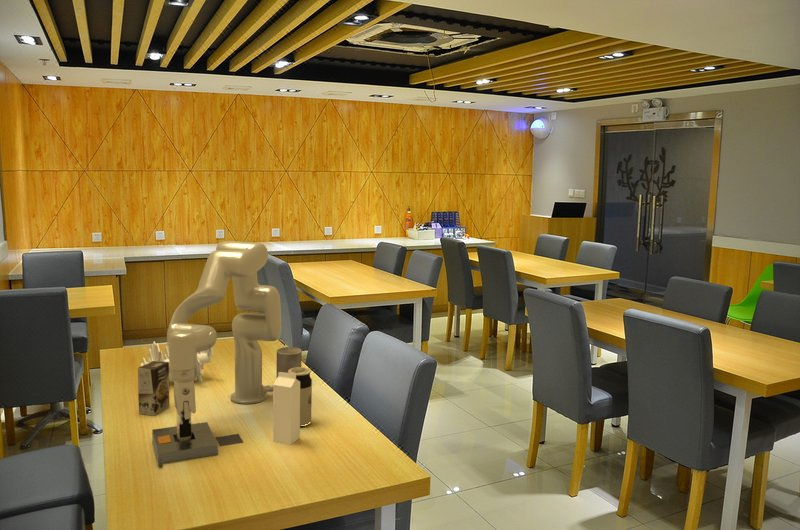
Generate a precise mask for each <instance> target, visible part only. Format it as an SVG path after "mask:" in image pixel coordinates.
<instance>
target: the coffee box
mask: <svg viewBox="0 0 800 530" xmlns="http://www.w3.org/2000/svg"><path fill="white" fill-rule="evenodd" d="M147 363H148V362H147ZM137 383H138V384H137V385H138V386H137V387H138V388H137V390H138V391H137V393H138V394H137V395H138V400H137V402H138V415H145V414H146V416H147V415H148V416H153V417H154V416H156V415H158V414H160V413H162V412H163V411H164V410H167V409H168V408H170V404H171V403H170V376H169V362H161V361H152V362H150V363H148V364H145V365H143V366H141V367H140V366H139V367H138V368H137Z"/></svg>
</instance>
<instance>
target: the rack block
mask: <svg viewBox="0 0 800 530" xmlns="http://www.w3.org/2000/svg"><path fill="white" fill-rule="evenodd" d="M151 433H152V434H151V436H152V437H151V439H152V446H153V451H154V455H155V459H156V463H158V464H157V467H160V468H163V467H164V465H163V464H169V463H176V462H181V461H188V460H194V459H200V458H206V457H211V456H212V457H213V456H218V455H219V444H218V442H217V440H216V438H215V436H214V433H213V432H212V430H211V427H210V425H209V423H208V421H204V422H198V423H191V437H192V438H191V440H187V441H180V442H179V441H177V425H176V426H169V427H163V428H154V429H152V430H151Z"/></svg>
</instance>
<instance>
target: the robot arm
mask: <svg viewBox="0 0 800 530" xmlns="http://www.w3.org/2000/svg"><path fill="white" fill-rule="evenodd" d="M268 257H269V251H268V248H267V247H266V245H265V244H263V243H261V242H256V241H255V242H252V241H239V240H238V241H237V240H224V241H221V242H219V243H218V244H217V245H216V249H215V250H214V251H212V252H210V254H209V255H208V257H207V260H206V263H205V264H204V267H203V271H202V274H201V276H200V280H199V282H198V286H197V288H196V290H195V292H193V293H192V294H190V295H189V296H188V297H187V298H185V299H184V300H183V301H182V302H181V303H180V304H178V306H177V307H176V309H175V310H174V312H173V314H172V317H171V318H170V322H169V325H168V327H167V331H166V341H167V343H169V381H171V382H173V398H174V406H175V409H176V413H177V412H178V414H179V415H180V424H179V435H180V438H183V437H189V436H191V424H192V416H191V417H190V410H191V414H196V412H197V407H196V388H195V380H196V379H198V378H197V352H201V351H205V350H208V349H210V348H212V347H214V346H215V344H216V343H217V340H218V334H217V331H216V329H215V328H214V327H212V326H210V325H207V324H197V323H196V324H195V323H188V321H189V319H190V318H191V317H192V316H193V315H194V314H196V313H197V312H199V311H201V310H203V309H206V308H208V307H209V308H210V307H212V306H215V305H217V304H219V303H221V302H222V301H223V300H224V298H225V296H226V293H227V289H228V287H229V283H230V280H232V290H233V291H232V292H233V300H234V306H235V307H236V309H237V310H239V311H243V312H241V313H238V314H236V315H235V316H234V317H233V319H232V321H231V331H232V336H233V340H234V341H233V343H234V392H233V393H231V395H230V400H231V401H232V402H233V403H236V404H239V403H240V404H242V405H252V404H257V403H260V402H263V401H265V400H266V399H267V394H268V393H273V386H270V385H269V384H267V385H263V350H262V346H261V345H260V343H259V342H260V341H261V342H275V341H277V340H279V338H280V337H281V335H282V328H283V325H282V307H281V304H282V303H281V296H280V292H279V289H277V288H276V287H275V286H273V285H265V284H264V285H263V284H259V282H258V273H257V272H258V271H260V270H261V269H262V268H263V267H264V266H265V265H266V264H267V261H268V259H269V258H268ZM182 412H184V413H182ZM182 416H184V417H183V419H182Z"/></svg>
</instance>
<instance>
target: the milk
mask: <svg viewBox="0 0 800 530" xmlns="http://www.w3.org/2000/svg"><path fill="white" fill-rule="evenodd" d="M272 396H273V397H272V398H273V400H272V401H273V402H272V403H273V405H272V407H273V409H272V412H273V413H272V414H273V415H272V416H273V419H272V423H273V424H272V426H273V427H272V436H273V437H272V442H273V443H279V444H284V445H285V444H286V445H290V446H291V445H292V444H293V443H295V442H296V441H297V440H298V439H300V437H301V436H300V434H301V433H300V431H301V430H300V428H301V427H300V381H298V380H297V379H296V374H291V373H284V372H278V378H277V377H276V380H275V381H274V383H273V392H272Z"/></svg>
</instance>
